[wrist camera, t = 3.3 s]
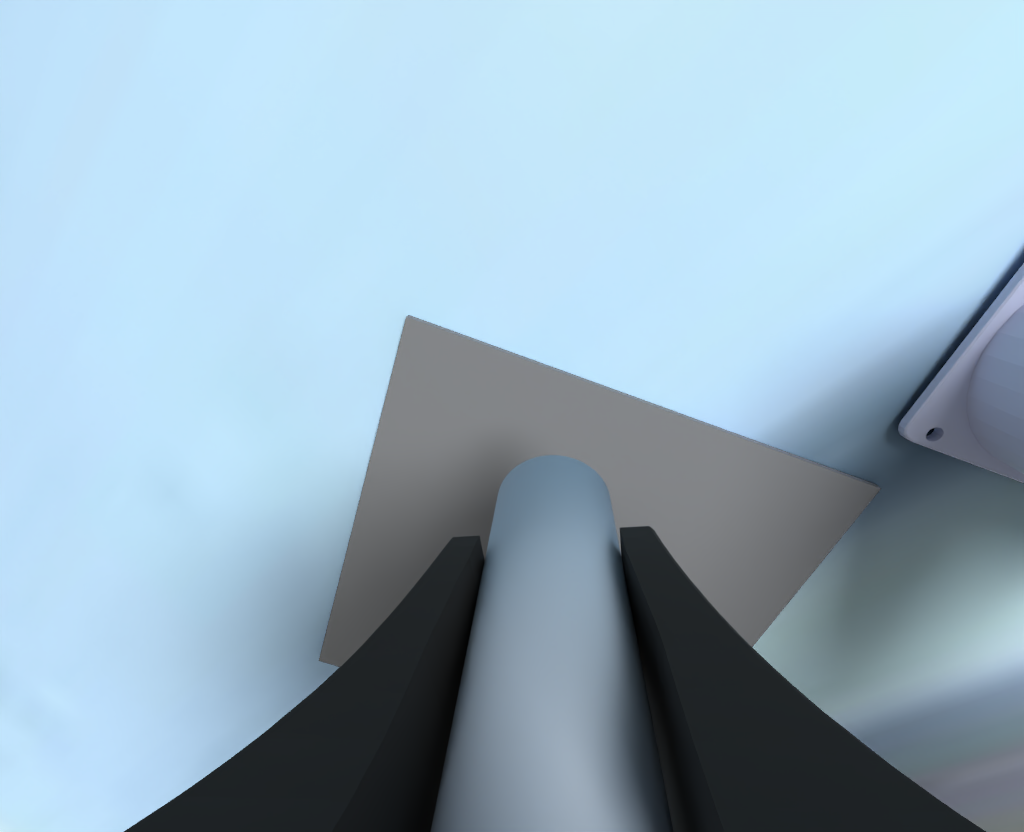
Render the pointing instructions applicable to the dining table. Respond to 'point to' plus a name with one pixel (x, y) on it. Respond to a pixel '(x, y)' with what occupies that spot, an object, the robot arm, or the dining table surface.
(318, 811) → the robot arm
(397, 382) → the mat
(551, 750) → the dowel
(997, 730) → the dining table surface
